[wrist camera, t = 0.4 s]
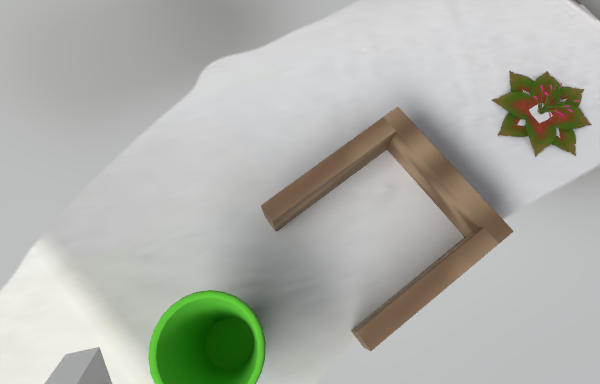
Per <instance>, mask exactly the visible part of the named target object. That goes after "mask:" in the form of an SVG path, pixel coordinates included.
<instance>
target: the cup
mask: <svg viewBox="0 0 600 384" xmlns="http://www.w3.org/2000/svg"><path fill="white" fill-rule="evenodd" d="M264 360H265V339H264V334H263V330H262V327H261V325H260V323H259V320H258V318H257V316H256V315H255V313H254V312H253V311H252V310H251V309H250V307H249V306H248V305H247V304H246V303H244V302H243V301H241V300H240V299H239V298H237V297H236V296H233V295H230V294H228V293H225V292H221V291H212V290H209V291H201V292H196V293H193V294H191V295H188V296H186V297H183V298H182V299H180V300H179V301H177V302H176V303H175V304H173V305H172V306H171V307H170V308H169V309H168V310H167V311H166V312H165V313H164V314H163V316H162V317H161V319H160V320H159V322H158V324H157V326H156V327H155V329H154V332H153V335H152V338H151V342H150V348H149V365H150V372H151V375H152V378H153V380H154V383H155V384H256V382H257V380H258V378H259V376H260V374H261V372H262V368H263V364H264Z"/></svg>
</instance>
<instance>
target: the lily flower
mask: <svg viewBox="0 0 600 384" xmlns="http://www.w3.org/2000/svg"><path fill="white" fill-rule="evenodd" d="M509 72H510V79H511V81H510V85H511V93H508V94H506V95H504V96H501V97H500V98H499V99H494V100H492V101H494V102H496V103H497V104H499V105H500V106H502V107H503V108H504V109H506V110H507V111H508V112H510V113H509V114H508V115H507V116H506V118H505V120H504V122H503V124H502V127H501V132H499V134H498V135H505V136H508V135H510V136H515V137H525V136H529V138H530V141H531V144H532V147H533V149H534V150H535V151H534V152H535V157H536V156H537V155H538V153H540V152H541V151H542V150H543V149H544V148H546V147H547V146H549V145H550V144H553V145H555V146H557V147H559V148H561V149H563V150H565V151H567V152H571V153H572V154H574V155H575V156H576V153H575V145H574V144H576V138H575V134H574V132H573V130H572V129H576V128H580V127H584V126H586V125H591V124H590V123H589V122H588V120H587V119H586V117H584V116H583V115H584V114H583V113H582V112H581V110H580V109H579V108H577V107H578V105H579V104H580V101H581V97H582V95H581V93H582V92H583V91H584V89H581V90H580V89H576V87H575V89H572V88H570V87H561V85H562V83H561V85H560V84H559V83H558V82H557V81H556V80H555V79H554V78H553V77H551V76H549V73H548V72H546V73H545V74H543V75H542V76H540V77H538V78H537V79H536V80H535V82H534V81H533V80H531V79H530V78H528V77H525V76H522V75H519V74H514V73H513V72H511V71H509ZM522 89H523V90H524V91H527V92H529V93H530V96H531V97H530V96H529V95H528V94H526V93H524V92H523V90H522ZM567 98H568V99H567ZM560 99H567V100H566V101H565V102H560V103H558V102H559V100H560ZM539 103H541V106H540V104H539ZM542 103H543V104H544V107H543V108H542ZM537 104H538V110H539V111H538V112H539V113H540V114H543V113H545V112H549V111H550V112H551V113H552V115H553V116H552V117H551V113H550V112H549V116H550V117H551V118H549V119H548V120H546V121H544V122H542V123H538V122H537V120H536V119H535V118H534V117H533V116H532V115H531V113H530V112H529V109H530V108H532V107H533V106H535V105H537ZM541 108H542V109H541ZM545 109H547V110H545ZM543 110H545V111H543ZM520 119H525V120H527V121H526V126H519V125H518V126H516V125H517V124H518V122H519V120H520ZM554 126H555V127H557V128H559V132H560V138H559V137H558V136H556V129H555V127H554Z"/></svg>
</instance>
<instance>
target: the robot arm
mask: <svg viewBox="0 0 600 384" xmlns="http://www.w3.org/2000/svg"><path fill="white" fill-rule="evenodd" d="M45 384H112V382H111V379H110V376H109V373H108V371H107V368H106V365H105V362H104V359H103V356H102V353H101V351H100V348H99V347H98V348H93V349H89V350H84V351H79V352H75V353H70V354H66V355H65V356H64V358H63V359H62V360H61V362H60V363H59V365H58V366H57V367H56V369H55V370H54V371H53V373H52V374H51V376H50V377H49V378H48V380H47V381H46V383H45Z"/></svg>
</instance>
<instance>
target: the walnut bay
mask: <svg viewBox="0 0 600 384" xmlns="http://www.w3.org/2000/svg"><path fill="white" fill-rule="evenodd" d="M386 150H388V151H389V152H390V153H391V154H392V155H393V156H394V158H395V159H396V160H397V161H398V162H399V163H400V164H401V165H402V167H403V168H404V169H405V170H406V171H407V172H408V173H409V174H410V176H411V177H412V178H413V179H414V180H415V181H416V182H417V183H418V185H419V186H420V187H421V188H422V189H423V190H424V191H425V192H426V194H427V195H428V196H429V197H430V198H431V199H432V200H433V201H434V203H435V204H436V205H437V206H438V207H439V208H440V209H441V210H442V212H443V213H444V214H445V215H446V216H447V217H448V218H449V219H450V220H451V222H452V223H453V224H454V225H455V226H456V227H457V228H458V229H459V231H460V232H461V233H462V234H463V235H464V236H465V238H464V239H463V240H461V241H460V242H459V243H458V244H456V245H455V246H454V247H453V248H452V249H450V250H449V251H448V252H447V253H445V254H444V255H443V256H442V257H441V258H439V259H438V260H437V261H436V262H435V263H433V264H432V265H431V266H430V267H428V268H427V269H426V270H425V271H424V272H422V273H421V274H420V275H419V276H417V277H416V278H415V279H414V280H413V281H411V282H410V283H409V284H408V285H406V286H405V287H404V288H403V289H402V290H400V291H399V292H398V293H397V294H396V295H394V296H393V297H392V298H391V299H389V300H388V301H387V302H386V303H385V304H383V305H382V306H381V307H380V308H378V309H377V310H376V311H375V312H374V313H372V314H371V315H370V316H369V317H367V318H366V319H365V320H364V321H363V322H361V323H360V324H359V325H358V326H356V327H355V328H354V329H353V330H352V333H353V334H354V335H355V337H356V338H357V339H358V341H359V342H360V343H361V345H362V346H363V347H364V348H366V349H368V350H370V351H372V350H373V349H374V348H375V347H376V346H377V345H379V344H380V343H381V342H382V341H383V340H385V339H386V338H387V337H388V336H389V335H390V334H392V333H393V332H394V331H395V330H396V329H398V328H399V327H400V326H401V325H402V324H404V323H405V322H406V321H407V320H408V319H410V318H411V317H412V316H413V315H414V314H416V313H417V312H418V311H419V310H420V309H422V308H423V307H424V306H425V305H426V304H427V303H429V302H430V301H431V300H432V299H433V298H435V297H436V296H437V295H438V294H440V293H441V292H442V291H443V290H444V289H445V288H447V287H448V286H449V285H450V284H451V283H453V282H454V281H455V280H456V279H457V278H459V277H460V276H461V275H462V274H463V273H464V272H466V271H467V270H468V269H469V268H471V267H472V266H473V265H474V264H475V263H476V262H478V261H479V260H480V259H481V258H482V257H484V256H485V255H486V254H487V253H488V252H490V251H491V250H492V249H493V248H494V247H496V246H497V245H498V244H499V243H500V242H501V241H503V240H504V239H505V238H506V237H507V236H509V235H510V234H511V233H512V232H513V230H512V229H511V228H510V227H509V226H508V225H507V224H506V223H505V222H504V220H503V219H502V218H501V217H500V216H499V215H498V214H497V213H496V212H495V211H494V210H493V209H492V208H491V206H490V205H489V204H488V203H487V202H486V201H485V200H484V199H483V198H482V197H481V196H480V195H479V194H478V192H477V191H476V190H475V189H474V188H473V187H472V186H471V185H470V184H469V183H468V182H467V181H466V180H465V178H464V177H463V176H462V175H461V174H460V173H459V172H458V171H457V170H456V169H455V168H454V167H453V166H452V164H451V163H450V162H449V161H448V160H447V159H446V158H445V157H444V156H443V155H442V154H441V153H440V152H439V151H438V149H437V148H436V147H435V146H434V145H433V144H432V143H431V142H430V141H429V140H428V139H427V138H426V137H425V135H424V134H423V133H422V132H421V131H420V130H419V129H418V128H417V127H416V126H415V125H414V124H413V123H412V121H411V120H410V119H409V118H408V117H407V116H406V115H405V114H404V113H403V112H402V111H401V110H400V109H399V107H397V108H395V109H394V110H393V111H391V112H390V113H388V114H387V115H386V116H384V117H383V118H382V119H380V120H379V121H377V122H376V123H375V124H373V125H372V126H370V127H369V128H368V129H366V130H365V131H364V132H362V133H361V134H359V135H358V136H357V137H355V138H354V139H353V140H351V141H350V142H348V143H347V144H346V145H344V146H343V147H341V148H340V149H339V150H337V151H336V152H335V153H333V154H332V155H330V156H329V157H328V158H326V159H325V160H323V161H322V162H321V163H319V164H318V165H317V166H315V167H314V168H312V169H311V170H310V171H308V172H307V173H305V174H304V175H303V176H301V177H300V178H299V179H297V180H296V181H294V182H293V183H292V184H290V185H289V186H288V187H286V188H285V189H283V190H282V191H281V192H279V193H278V194H276V195H275V196H274V197H272V198H271V199H270V200H268V201H267V202H265V203H264V204H263V205H261V207H262V210H263V212H264V215H265V218H266V219H267V220H268V221H269V223H270V224H271V225H272V227H273V228H274V229H275V231H278V230H279V229H280V228H282V227H283V226H284V225H286V224H287V223H288V222H290V221H291V220H292V219H294V218H295V217H296V216H298V215H299V214H301V213H302V212H303V211H305V210H306V209H307V208H309V207H310V206H311V205H313V204H314V203H315V202H317V201H318V200H319V199H321V198H322V197H323V196H325V195H326V194H328V193H329V192H330V191H332V190H333V189H334V188H336V187H337V186H338V185H340V184H341V183H342V182H344V181H345V180H346V179H348V178H349V177H350V176H352V175H353V174H354V173H356V172H357V171H359V170H360V169H361V168H363V167H364V166H365V165H367V164H368V163H369V162H371V161H372V160H373V159H375V158H376V157H377V156H379V155H380V154H381V153H383V152H384V151H386Z"/></svg>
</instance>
